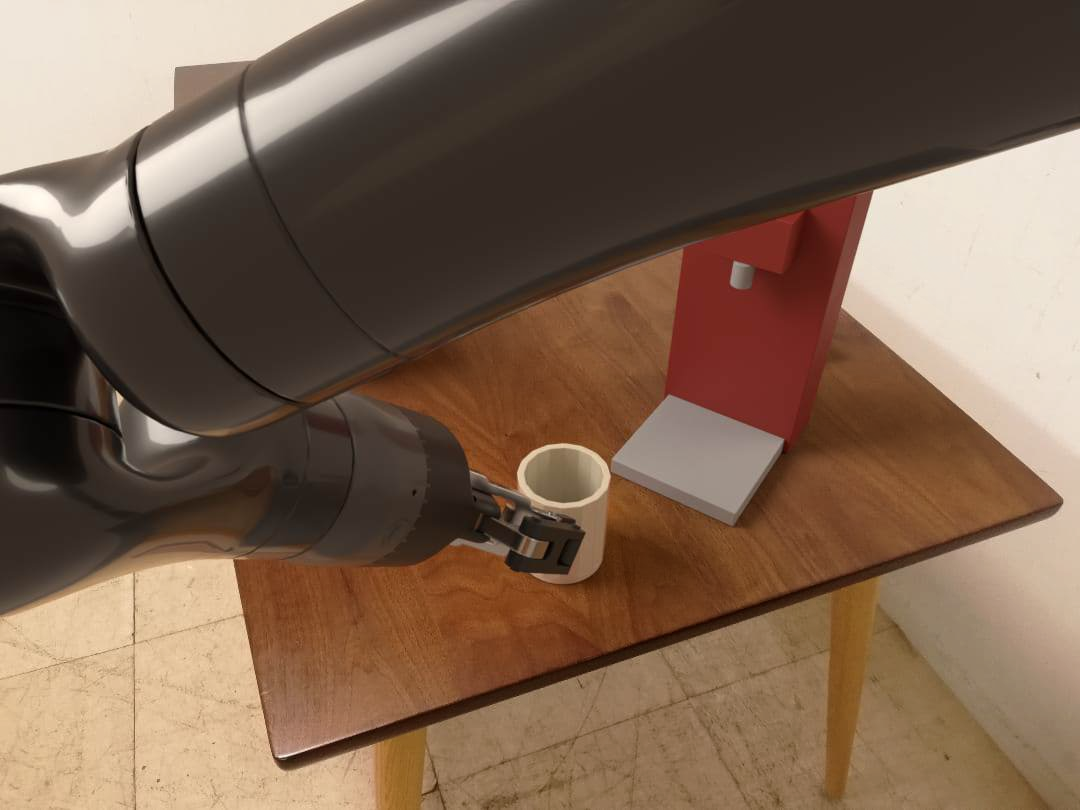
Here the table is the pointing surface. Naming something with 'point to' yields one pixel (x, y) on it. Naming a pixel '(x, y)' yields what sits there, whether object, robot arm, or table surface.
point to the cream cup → (570, 499)
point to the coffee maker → (745, 356)
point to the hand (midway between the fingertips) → (506, 505)
